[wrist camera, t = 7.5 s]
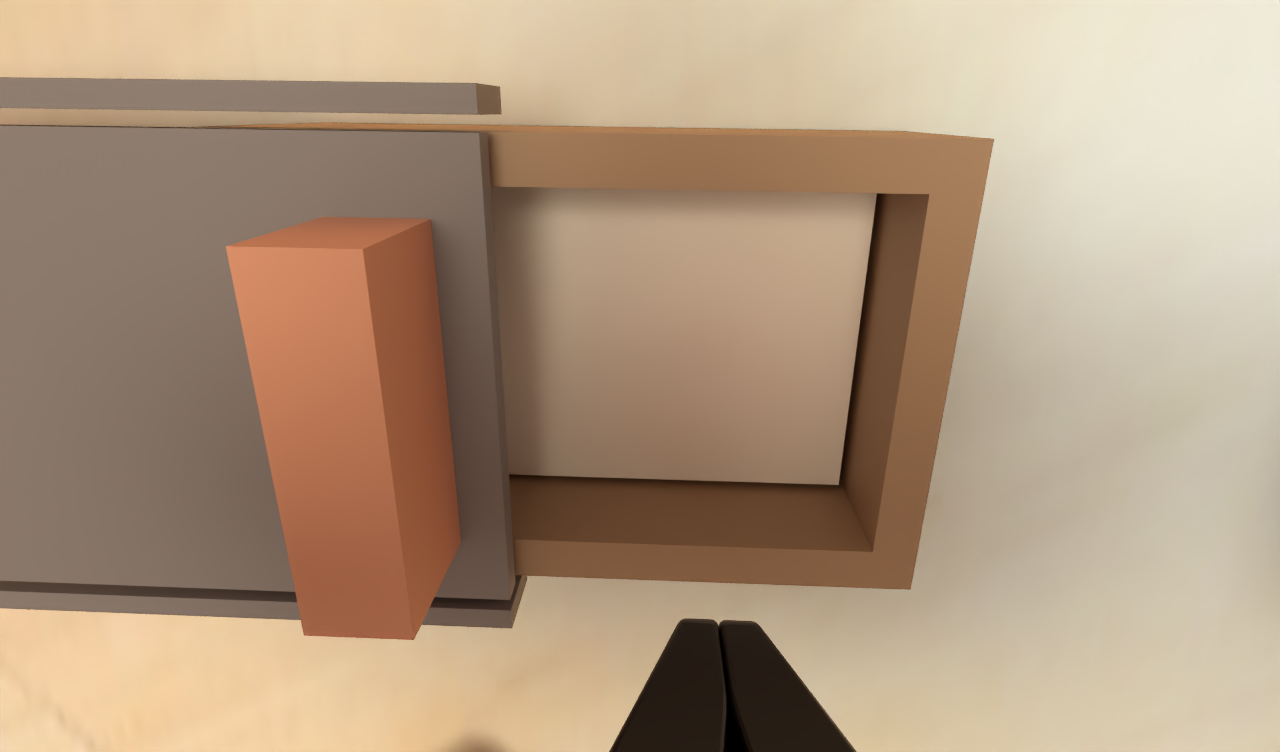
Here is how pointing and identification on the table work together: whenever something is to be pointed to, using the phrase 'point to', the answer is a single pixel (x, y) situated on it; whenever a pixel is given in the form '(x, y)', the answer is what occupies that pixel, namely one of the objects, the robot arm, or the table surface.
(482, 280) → the lid
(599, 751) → the table surface
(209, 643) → the table surface
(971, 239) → the base
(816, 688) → the table surface
